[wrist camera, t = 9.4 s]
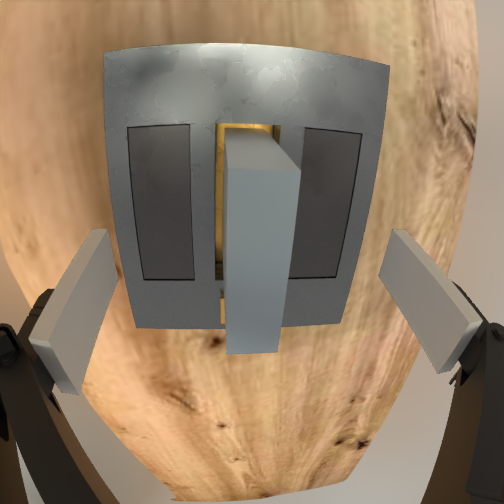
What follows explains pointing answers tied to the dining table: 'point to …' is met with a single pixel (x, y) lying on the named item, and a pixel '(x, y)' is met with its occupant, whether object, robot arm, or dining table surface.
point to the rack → (212, 163)
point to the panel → (256, 237)
